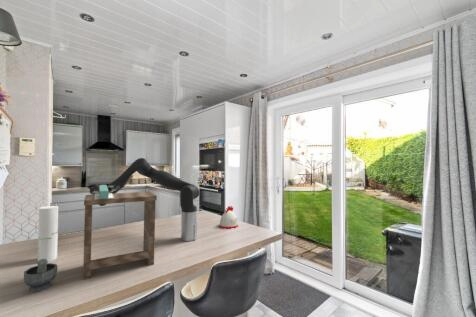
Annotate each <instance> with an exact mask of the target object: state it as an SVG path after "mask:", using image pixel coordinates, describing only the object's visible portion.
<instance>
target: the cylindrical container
mask: <svg viewBox="0 0 476 317" xmlns="http://www.w3.org/2000/svg"><path fill="white" fill-rule="evenodd" d="M38 210H39V211H38V235H37V236H38V240H37V241H38V243H37V262H38V261H39V260H41V259H47V261H48V263H50V262H52V261H55V260H56V259H57V258H58V238H59V235H58V234H59V232H58V231H59V205H47V206H41V207H39V209H38Z"/></svg>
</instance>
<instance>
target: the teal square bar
mask: <svg viewBox="0 0 476 317" xmlns="http://www.w3.org/2000/svg"><path fill="white" fill-rule="evenodd" d="M107 186H108V185H107V184H100V185H99V184H98V187H99V193H100V198H108V194H109V191H108V188H107Z"/></svg>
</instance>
